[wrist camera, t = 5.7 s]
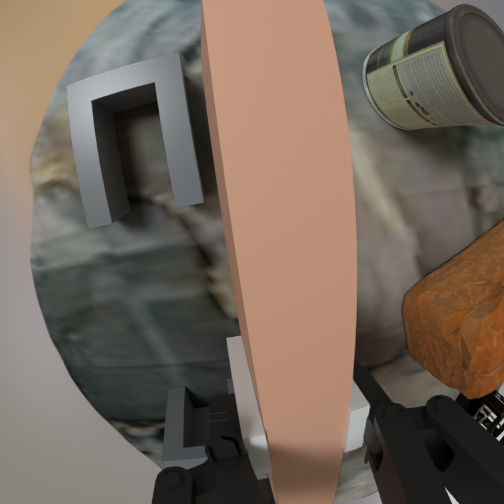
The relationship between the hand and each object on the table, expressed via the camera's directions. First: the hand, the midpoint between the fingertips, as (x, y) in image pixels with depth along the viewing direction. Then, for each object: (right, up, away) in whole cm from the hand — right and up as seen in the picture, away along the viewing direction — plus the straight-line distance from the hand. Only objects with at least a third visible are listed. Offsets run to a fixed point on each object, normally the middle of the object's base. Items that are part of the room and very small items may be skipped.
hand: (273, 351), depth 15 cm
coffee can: (+15, +23, +11) cm, 30 cm away
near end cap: (-11, +15, +10) cm, 21 cm away
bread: (+31, +1, +20) cm, 37 cm away
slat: (0, 0, +1) cm, 1 cm away
